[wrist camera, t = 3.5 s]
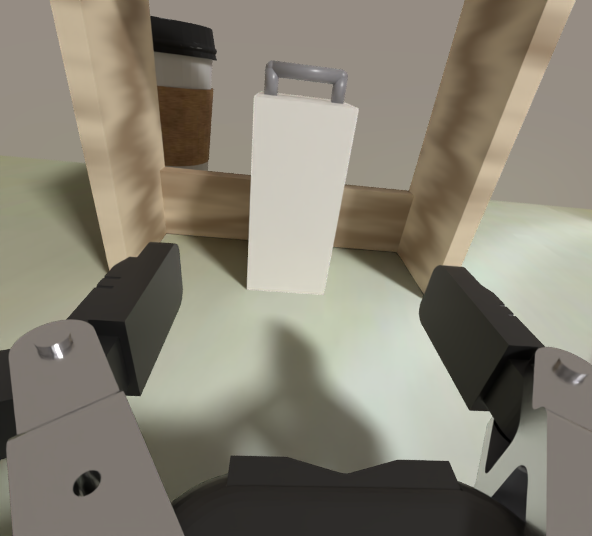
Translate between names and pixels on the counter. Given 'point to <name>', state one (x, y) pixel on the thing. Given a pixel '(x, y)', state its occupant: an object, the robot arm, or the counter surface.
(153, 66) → the frame
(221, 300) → the counter surface
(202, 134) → the coffee cup
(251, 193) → the caddy
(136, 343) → the robot arm
